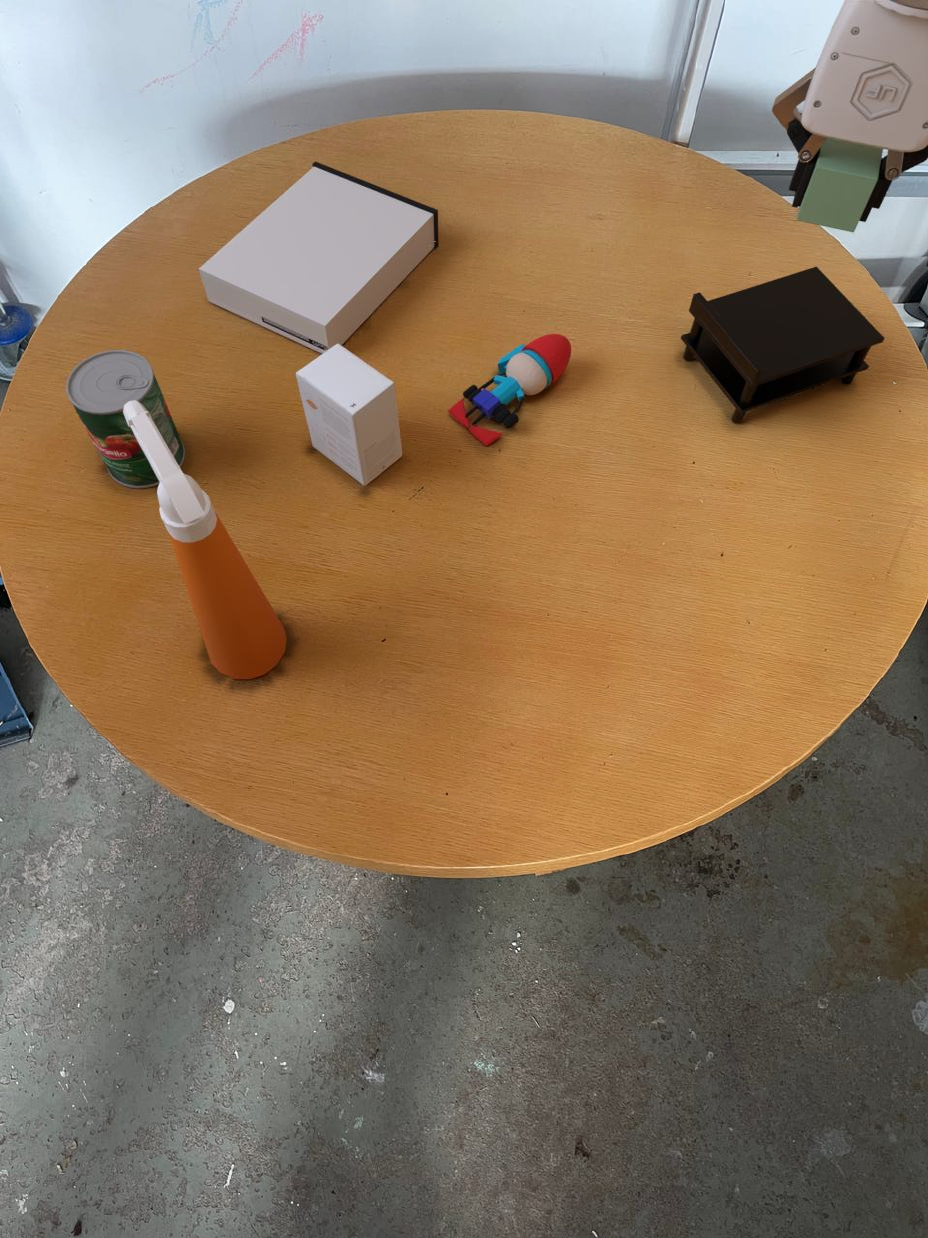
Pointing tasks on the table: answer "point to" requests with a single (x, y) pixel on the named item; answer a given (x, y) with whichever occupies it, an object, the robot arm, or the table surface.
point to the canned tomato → (121, 412)
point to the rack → (779, 339)
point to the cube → (840, 184)
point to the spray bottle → (211, 566)
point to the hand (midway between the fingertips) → (831, 202)
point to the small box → (351, 413)
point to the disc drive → (321, 257)
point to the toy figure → (515, 383)
